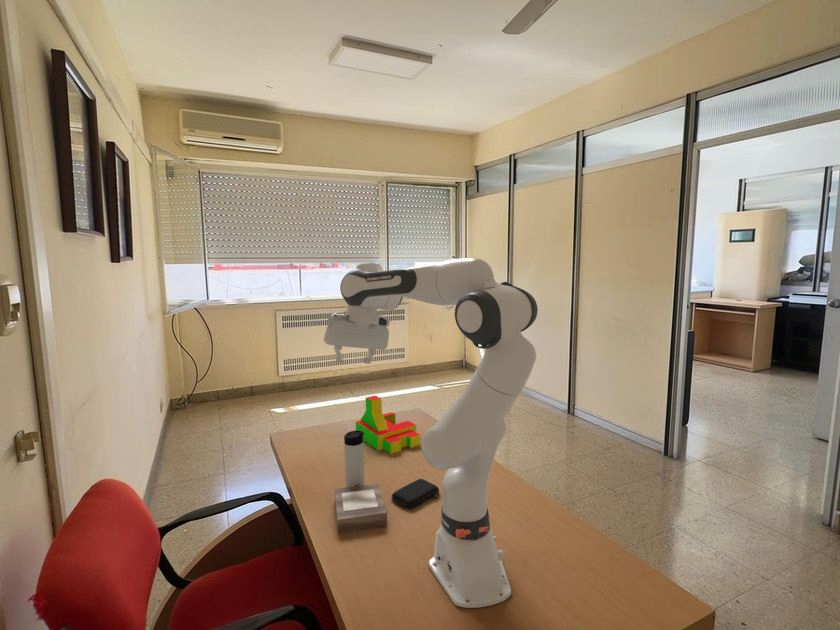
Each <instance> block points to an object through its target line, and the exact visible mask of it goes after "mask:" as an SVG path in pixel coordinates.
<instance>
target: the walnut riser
mask: <svg viewBox="0 0 840 630" xmlns="http://www.w3.org/2000/svg"><path fill="white" fill-rule="evenodd" d="M334 502H335V513H336V524H337V525H336V527H337V533H338V534H339V533H345V532H353V531H358V530H366V529H367V530H368V529H372V528H373V529H374V528H380V527H386V526H388V521H387V520H388V519H387V517H388V516H387V510H386V509H387V508H386V506H385V503H384V499H383V495H382V492H381V488H380V485H379V483H372V484H364V485H362V486H354V487H346V486H345V487H340V488H339V487H338V488H335V489H334Z"/></svg>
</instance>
